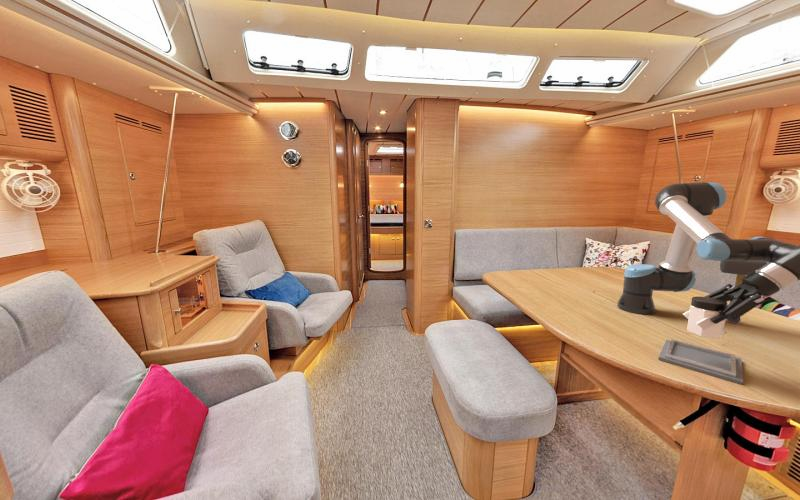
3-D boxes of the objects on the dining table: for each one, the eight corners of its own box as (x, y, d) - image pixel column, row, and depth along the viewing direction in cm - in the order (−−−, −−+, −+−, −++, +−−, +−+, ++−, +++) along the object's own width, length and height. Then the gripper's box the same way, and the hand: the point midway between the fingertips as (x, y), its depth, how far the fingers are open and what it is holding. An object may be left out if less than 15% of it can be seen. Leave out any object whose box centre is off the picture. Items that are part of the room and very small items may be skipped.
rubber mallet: (716, 322, 127) (726, 258, 122) (710, 316, 133) (720, 255, 129) (758, 328, 120) (770, 261, 115) (749, 322, 126) (761, 258, 122)
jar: (719, 341, 90) (725, 306, 88) (684, 332, 97) (688, 299, 95) (724, 334, 95) (730, 300, 93) (691, 326, 102) (695, 294, 100)
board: (658, 359, 99) (658, 357, 99) (666, 341, 111) (666, 339, 111) (742, 384, 84) (743, 381, 84) (740, 361, 97) (741, 358, 96)
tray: (665, 357, 98) (665, 354, 98) (671, 342, 109) (671, 339, 108) (735, 377, 86) (736, 373, 86) (734, 358, 97) (735, 355, 96)
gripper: (809, 299, 78) (721, 343, 86) (752, 281, 97) (685, 318, 105) (785, 279, 79) (701, 325, 88) (733, 265, 98) (668, 303, 106)
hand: (692, 321), depth 96 cm, fingers closed on jar, 8 cm apart
